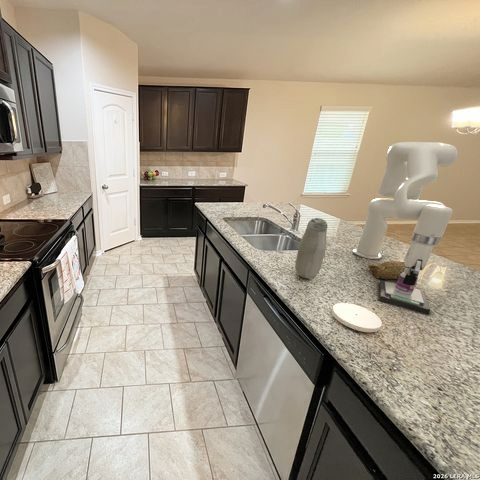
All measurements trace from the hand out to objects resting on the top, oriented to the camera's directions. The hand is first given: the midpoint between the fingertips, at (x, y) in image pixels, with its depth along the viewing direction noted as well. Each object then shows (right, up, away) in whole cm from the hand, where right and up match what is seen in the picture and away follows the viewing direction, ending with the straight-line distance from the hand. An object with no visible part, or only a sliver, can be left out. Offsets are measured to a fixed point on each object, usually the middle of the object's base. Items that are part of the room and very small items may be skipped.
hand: (407, 280), depth 100 cm
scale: (-1, -7, +2) cm, 8 cm away
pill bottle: (0, -5, +2) cm, 5 cm away
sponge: (+11, -1, +19) cm, 22 cm away
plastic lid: (-30, -12, -11) cm, 34 cm away
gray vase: (-30, -1, +18) cm, 35 cm away
